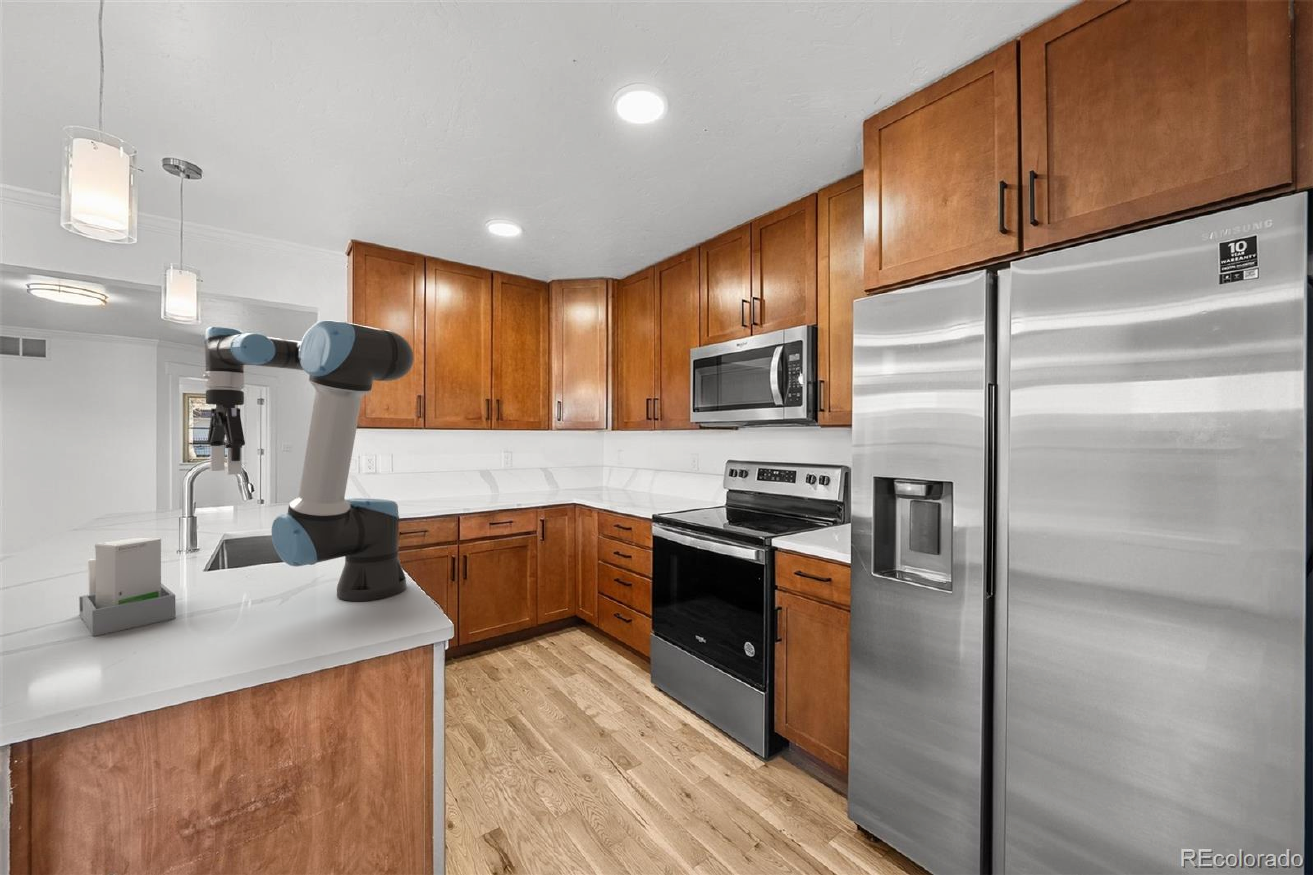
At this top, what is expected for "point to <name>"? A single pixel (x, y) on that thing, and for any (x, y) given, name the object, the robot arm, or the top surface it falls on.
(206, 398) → the robot arm
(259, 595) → the top surface
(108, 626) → the grey open box
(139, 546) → the skincare box
